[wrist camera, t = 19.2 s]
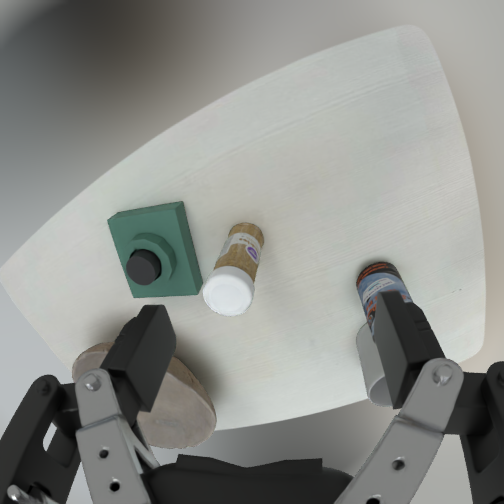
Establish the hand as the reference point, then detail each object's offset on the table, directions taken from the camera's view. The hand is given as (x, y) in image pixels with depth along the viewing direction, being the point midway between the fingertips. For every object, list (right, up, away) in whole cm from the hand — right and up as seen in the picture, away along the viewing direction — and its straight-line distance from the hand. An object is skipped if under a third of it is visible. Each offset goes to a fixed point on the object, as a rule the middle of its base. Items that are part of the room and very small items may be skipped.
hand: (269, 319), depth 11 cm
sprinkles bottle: (-1, +4, +29) cm, 29 cm away
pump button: (-14, +1, +26) cm, 30 cm away
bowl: (-18, -19, +42) cm, 50 cm away
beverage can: (+16, -1, +29) cm, 34 cm away
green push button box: (-13, +3, +30) cm, 33 cm away
